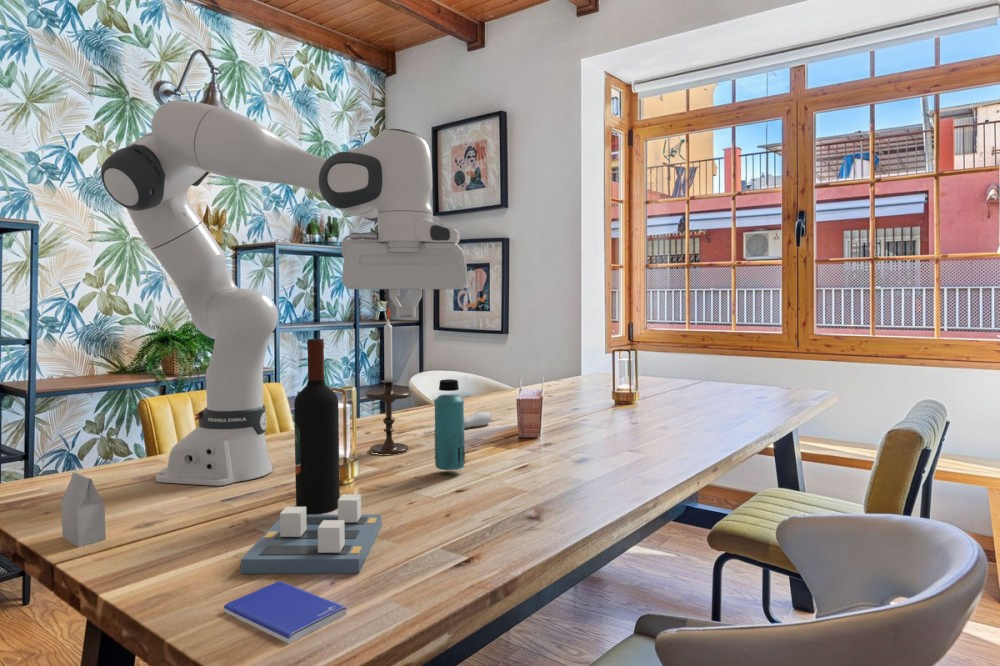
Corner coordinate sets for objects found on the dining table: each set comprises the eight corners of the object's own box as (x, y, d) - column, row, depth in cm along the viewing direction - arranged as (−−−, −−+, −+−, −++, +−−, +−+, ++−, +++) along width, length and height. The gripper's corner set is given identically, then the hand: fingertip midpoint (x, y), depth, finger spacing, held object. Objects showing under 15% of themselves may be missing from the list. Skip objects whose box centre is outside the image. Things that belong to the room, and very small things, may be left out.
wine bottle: (316, 516, 112) (313, 341, 110) (286, 509, 116) (283, 339, 114) (348, 504, 118) (346, 338, 116) (319, 497, 122) (316, 337, 120)
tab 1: (280, 536, 96) (279, 513, 96) (286, 529, 99) (286, 506, 99) (300, 536, 96) (300, 513, 96) (306, 529, 99) (306, 506, 99)
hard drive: (346, 605, 78) (281, 579, 85) (288, 634, 71) (223, 603, 78) (347, 618, 78) (281, 591, 85) (289, 648, 71) (223, 616, 78)
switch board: (241, 573, 89) (240, 558, 89) (283, 526, 107) (283, 514, 107) (359, 573, 89) (358, 558, 89) (381, 526, 107) (381, 513, 107)
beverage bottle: (460, 478, 135) (460, 382, 134) (430, 476, 137) (429, 381, 135) (468, 470, 142) (468, 378, 141) (439, 468, 143) (438, 377, 142)
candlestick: (384, 444, 166) (382, 306, 164) (420, 448, 161) (419, 306, 159) (357, 453, 156) (355, 306, 154) (394, 458, 152) (393, 307, 150)
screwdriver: (419, 442, 176) (416, 426, 177) (485, 424, 194) (482, 410, 194) (429, 441, 173) (426, 425, 173) (496, 423, 191) (493, 408, 191)
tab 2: (318, 552, 90) (317, 527, 90) (323, 544, 93) (323, 520, 93) (339, 552, 90) (339, 527, 90) (344, 544, 93) (344, 520, 93)
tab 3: (338, 522, 102) (337, 500, 102) (342, 515, 105) (342, 494, 105) (357, 522, 102) (357, 500, 102) (361, 515, 105) (360, 494, 105)
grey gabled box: (78, 547, 98) (76, 482, 98) (62, 537, 102) (60, 474, 102) (105, 540, 101) (103, 476, 100) (88, 530, 105) (86, 469, 105)
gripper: (336, 230, 103) (337, 318, 104) (466, 230, 103) (466, 318, 104) (345, 234, 109) (346, 317, 110) (468, 234, 110) (468, 316, 110)
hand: (406, 317), depth 107 cm, fingers closed
